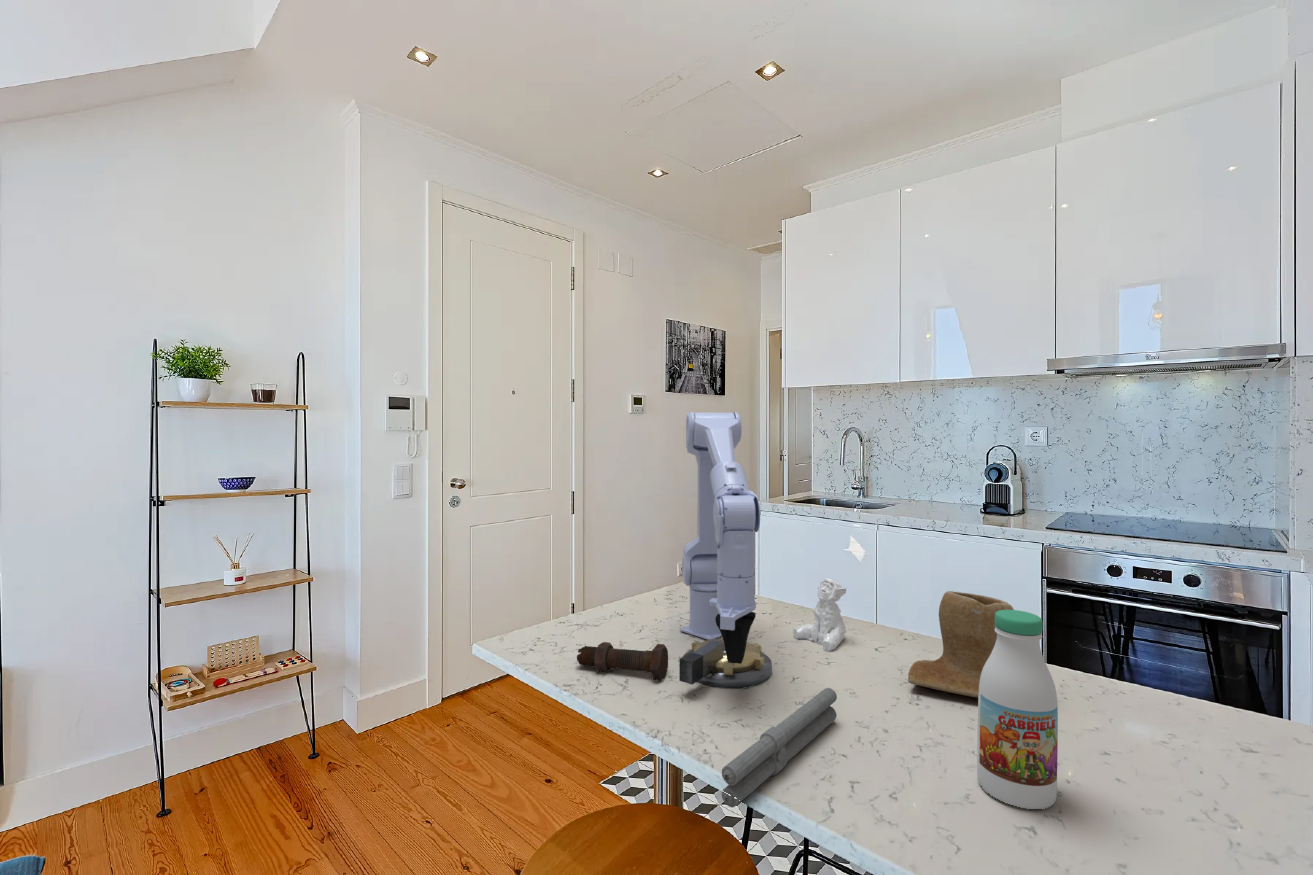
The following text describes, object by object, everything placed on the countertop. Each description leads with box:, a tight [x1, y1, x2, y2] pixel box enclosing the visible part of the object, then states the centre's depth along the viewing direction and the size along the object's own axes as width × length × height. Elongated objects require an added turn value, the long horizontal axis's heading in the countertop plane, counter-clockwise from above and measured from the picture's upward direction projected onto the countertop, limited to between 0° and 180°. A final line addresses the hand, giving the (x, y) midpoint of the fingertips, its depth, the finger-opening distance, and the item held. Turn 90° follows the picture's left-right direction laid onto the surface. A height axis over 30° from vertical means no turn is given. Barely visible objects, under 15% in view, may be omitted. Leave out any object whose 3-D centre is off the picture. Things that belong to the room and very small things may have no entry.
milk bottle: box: [976, 609, 1059, 810], centre depth 68 cm, size 8×8×20 cm
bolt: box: [576, 641, 669, 682], centre depth 101 cm, size 6×5×15 cm
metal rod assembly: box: [721, 687, 838, 808], centre depth 74 cm, size 26×3×5 cm, turn 140°
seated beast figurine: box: [792, 577, 847, 652], centre depth 115 cm, size 10×9×12 cm
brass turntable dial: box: [678, 636, 764, 685], centre depth 99 cm, size 19×13×4 cm
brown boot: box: [907, 590, 1015, 699], centre depth 94 cm, size 15×12×15 cm
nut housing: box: [682, 648, 773, 690], centre depth 102 cm, size 15×15×2 cm
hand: (735, 661), depth 93 cm, fingers closed
